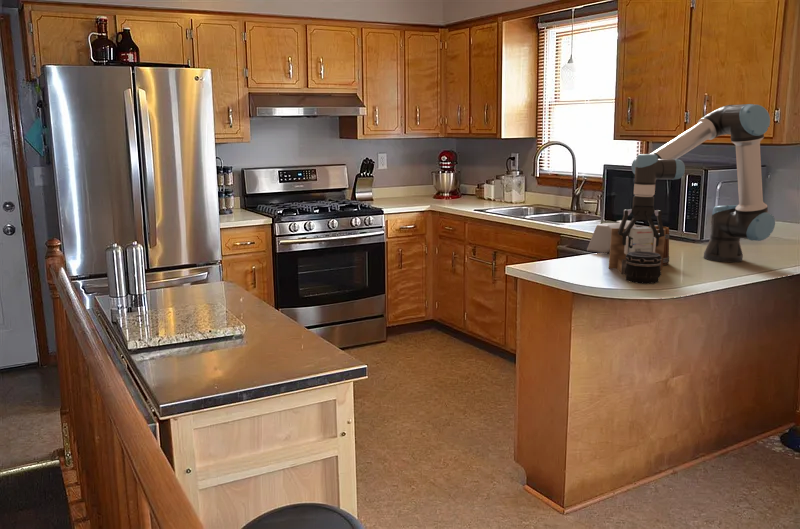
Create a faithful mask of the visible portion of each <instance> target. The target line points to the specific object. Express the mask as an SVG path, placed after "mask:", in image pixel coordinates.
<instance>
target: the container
mask: <svg viewBox="0 0 800 529" xmlns="http://www.w3.org/2000/svg"><path fill="white" fill-rule="evenodd" d="M625 258H626V268H625V271H624V273H625V274H624V275H626V276H625V280H626V281H627V282H629V281H630V283H634V284H643V285H644V284H645V285H646V284H647V285H648V284H657V283H658V282H659V279H660V277H661V276H662V271H661V269H660V265H661V262H660V261H661V260H662V257H661V256H660V254H658V253H653V252H643V251H635V252H629V253H628V254H627V255H626V257H625Z"/></svg>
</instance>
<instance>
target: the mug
mask: <svg viewBox="0 0 800 529" xmlns="http://www.w3.org/2000/svg"><path fill="white" fill-rule="evenodd" d="M654 226H655V228H656V229H659V228H658V224H654ZM647 227H648V228H651V227H650V225H649V226H647ZM663 229H665V230H666V231H665V243H664V254H663V266H667V265H670V264H669V262H670V236H671V235H670V228H669V226H668V227H667V226H664V225H663ZM663 266H662V267H663Z"/></svg>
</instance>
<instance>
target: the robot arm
mask: <svg viewBox="0 0 800 529" xmlns="http://www.w3.org/2000/svg"><path fill="white" fill-rule="evenodd" d="M770 125H771V117H770V114H769V111H768V110H767V109H766V107H764V106H762V105H761V104H754V103H747V104H746V103H744V104H727V105H723V106H721V107H719V108H717V109H715V110H713V111H711V112H709V113H707V114H706V115H703V117H701V118H699V120H698V121H697V124H694V125H693V126H692V127H689V129H687V130H685V131H684V132H682V133H681V134H679V135H677V136H676V137H674V138H673V139H671V140H670V141H668V142H666V143H665V144H663V145H662V146H660V147H658V148H657V149H655V150H654V151H652V152H651V153H639V154H638V155H636V158H634V160H633V161H632V163H631V167H630V168H631V172H632V173H633V174H634V186H633V195H634V196H633V198H632V207H631V208H630V209H623V216H622V219H621V220H622V222H621V224H620V227H619V230H618V234H619V235H621V236H622V245H625V247H624V253H625V254H627V252H628V239H629V237H627V235H628V233H629V232H630V230H631V228H632V227H633V226H634V224H635V223H637V221H647V222H648V225H649V226H650V227H651V228H652V229H653V232H654V235H655V237H654V239H653V251H652V252H653V253H655V247H656V246H658V244H659V238H660V237H662V236H664V229H663V226H664V224H663V220H662V215H663V211H662V210H659V209H656V210H655V208H654V206H655V196H654V195H656V194H655V193H656V192H655V191H656V183H657V182H656V181H658V180H672V181H674V180H679V179H681V178H683V176H684V174H685V173H686V171H685V170H686V165H685V163H684V161H683V160H681V159H679V158H680V157H682V156H684V155H685V154H687V153H689V152H690V151H692V150H693V149H695V148H697V147H698V146H700V145H701V144H703V143H704V142H705V141H707V140H709V141H711V140H714V139H715V138H717V137H720V136H725V135H730V142H731V143H732V144H734V145H735V156H736V157H735V158H736V174H737V190H738V193H737V194H738V204H734V205H733V204H732V205H731V204H730V205H715V206H714V207H713V209H712V213H711V220H710V223H711V224H710V235H709V241H708V243H707V245H706V248H705V249H704V252H703V258H704V259H706V260H708V261H715V262H723V263H739V262H743V260H744V259H743V258H744V255H743V254H744V253H743V250H742V246H741V239H743V240H744V239H745V240H749V241H753V242H754V241H757V242H759V241H760V242H761V241H764V240H766V239H768V238H769V237H770V236H771V234H772V233H773V232H774V229H775V225H776V219H775V217H774V216H773V214H772V213H770V212H769V211H768V204H767V203H765V202H764V199H763V198H764V196H763V180H762V179H763V178H762V161H761V160H762V158H761V157H762V156H761V141H762V140H763V139H764V138H765V134H766V132H767V131H768V130H769V129H768V128H770ZM630 215H632V218H631V220H630V221H631V222H630V223H629V225H628V226H627V228H626V229H625V231H624V232H623V230H624V227H625V224H626V221H628V217H629V216H630ZM653 215H655V217H656V221H657V225H658V228H659V234H658V232H657V230H656V228H655V226H654V225H655V223H654V222H653V219H652V216H653ZM635 225H636V224H635Z"/></svg>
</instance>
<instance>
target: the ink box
mask: <svg viewBox="0 0 800 529" xmlns="http://www.w3.org/2000/svg"><path fill="white" fill-rule="evenodd" d="M628 237H629V239H628V252H627V254H628V253H629V252H635V251H643V252H652V251H653V239H654V232H653V229H652V228H648V226H643V227H641V226H640V227H639V226H638V227H637V228H631V230H630V232H629V233H628ZM627 254H626V255H627Z"/></svg>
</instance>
